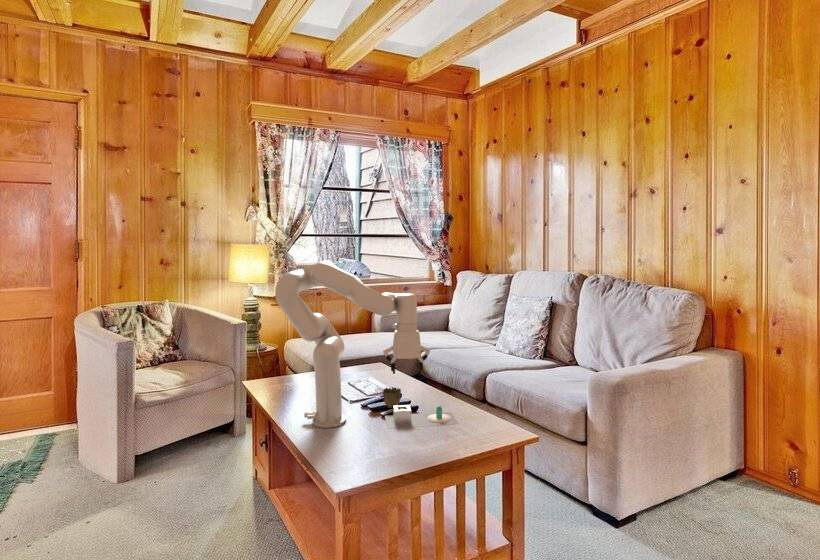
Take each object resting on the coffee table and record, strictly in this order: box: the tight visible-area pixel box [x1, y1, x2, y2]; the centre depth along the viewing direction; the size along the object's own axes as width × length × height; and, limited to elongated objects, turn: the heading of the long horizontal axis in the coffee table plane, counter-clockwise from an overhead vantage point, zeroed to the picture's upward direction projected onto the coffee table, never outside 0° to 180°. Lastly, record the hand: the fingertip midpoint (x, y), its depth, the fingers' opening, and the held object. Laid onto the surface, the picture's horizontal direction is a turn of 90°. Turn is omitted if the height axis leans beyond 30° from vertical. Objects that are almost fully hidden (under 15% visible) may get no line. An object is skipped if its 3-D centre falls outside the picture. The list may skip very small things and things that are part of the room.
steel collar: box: [392, 404, 412, 425], centre depth 189 cm, size 6×6×5 cm
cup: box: [382, 387, 402, 409], centre depth 206 cm, size 8×7×8 cm
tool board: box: [384, 405, 460, 430], centre depth 190 cm, size 26×13×6 cm, turn 98°
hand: (406, 372), depth 189 cm, fingers open, 9 cm apart
